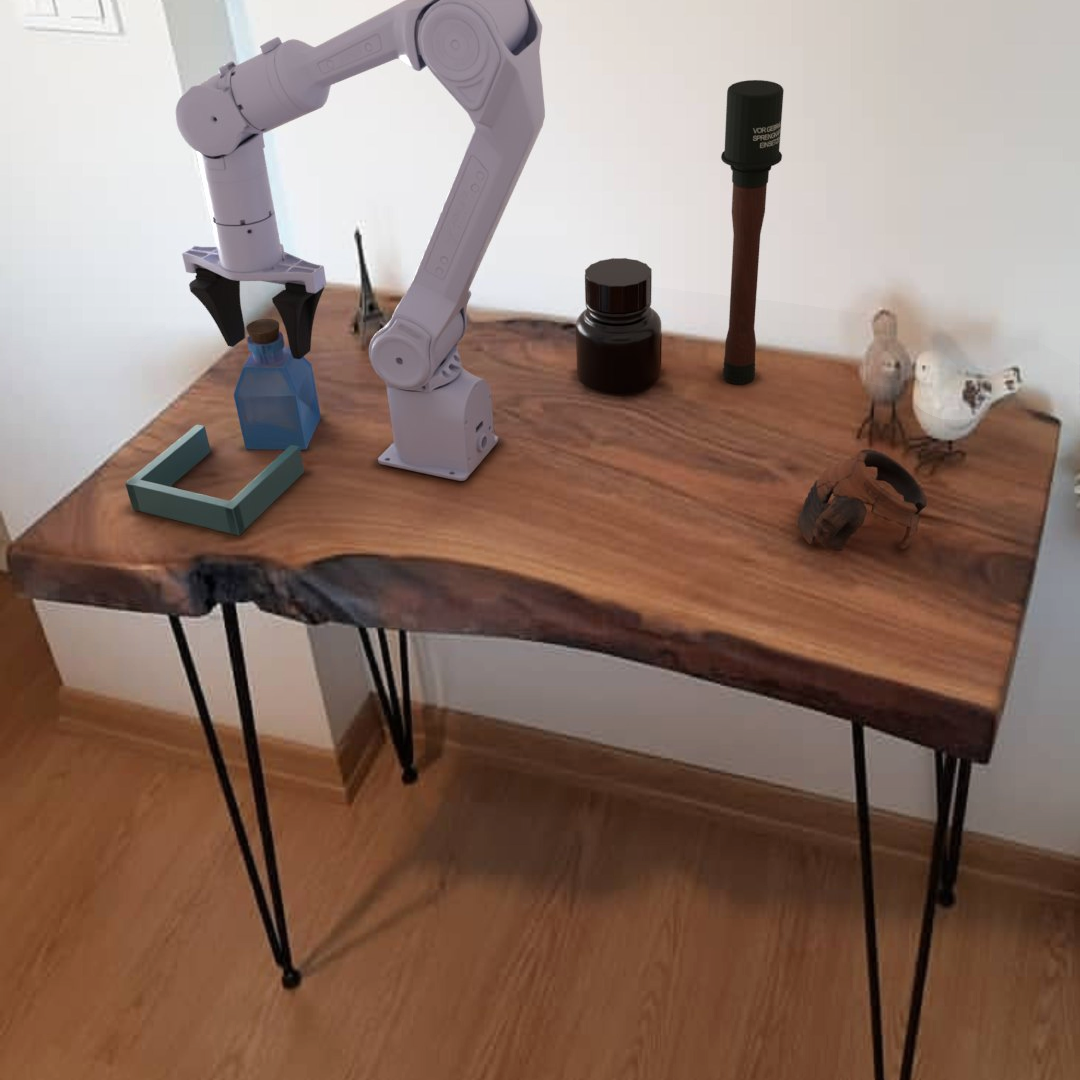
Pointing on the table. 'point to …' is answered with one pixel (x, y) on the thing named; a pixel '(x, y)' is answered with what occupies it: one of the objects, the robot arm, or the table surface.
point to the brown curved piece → (860, 500)
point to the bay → (227, 516)
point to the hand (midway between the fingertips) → (268, 348)
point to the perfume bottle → (275, 392)
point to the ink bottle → (618, 329)
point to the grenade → (748, 208)
